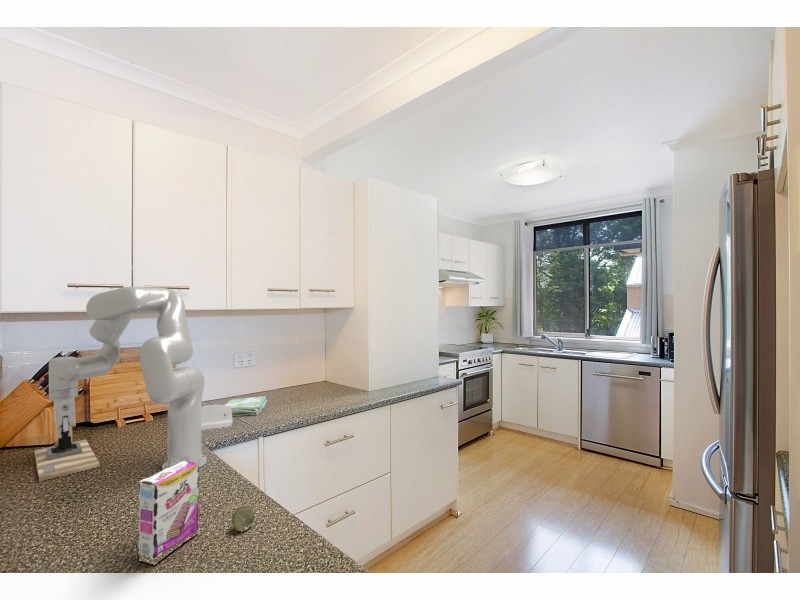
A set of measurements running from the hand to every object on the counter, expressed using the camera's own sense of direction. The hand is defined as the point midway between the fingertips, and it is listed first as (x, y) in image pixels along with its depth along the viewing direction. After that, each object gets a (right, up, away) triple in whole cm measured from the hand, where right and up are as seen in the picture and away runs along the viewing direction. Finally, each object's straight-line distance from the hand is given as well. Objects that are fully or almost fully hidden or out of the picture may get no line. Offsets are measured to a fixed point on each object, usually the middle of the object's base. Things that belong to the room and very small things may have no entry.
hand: (63, 446), depth 131 cm
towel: (+39, -4, +55) cm, 68 cm away
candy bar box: (+65, -3, -48) cm, 82 cm away
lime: (+78, -3, -42) cm, 89 cm away
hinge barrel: (0, -1, 0) cm, 1 cm away
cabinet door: (+3, -4, -3) cm, 5 cm away
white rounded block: (+35, -4, +32) cm, 47 cm away
